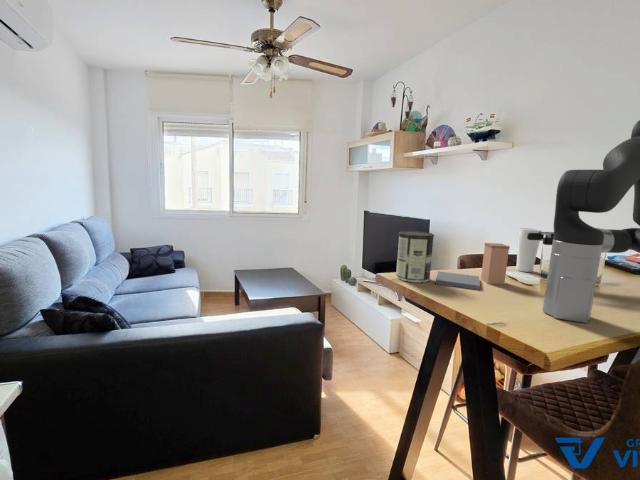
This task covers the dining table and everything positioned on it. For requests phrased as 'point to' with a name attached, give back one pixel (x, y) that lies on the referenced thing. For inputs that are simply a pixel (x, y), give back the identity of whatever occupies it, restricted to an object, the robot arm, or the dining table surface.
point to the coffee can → (414, 256)
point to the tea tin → (494, 263)
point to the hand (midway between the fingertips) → (535, 238)
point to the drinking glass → (526, 250)
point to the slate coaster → (458, 280)
